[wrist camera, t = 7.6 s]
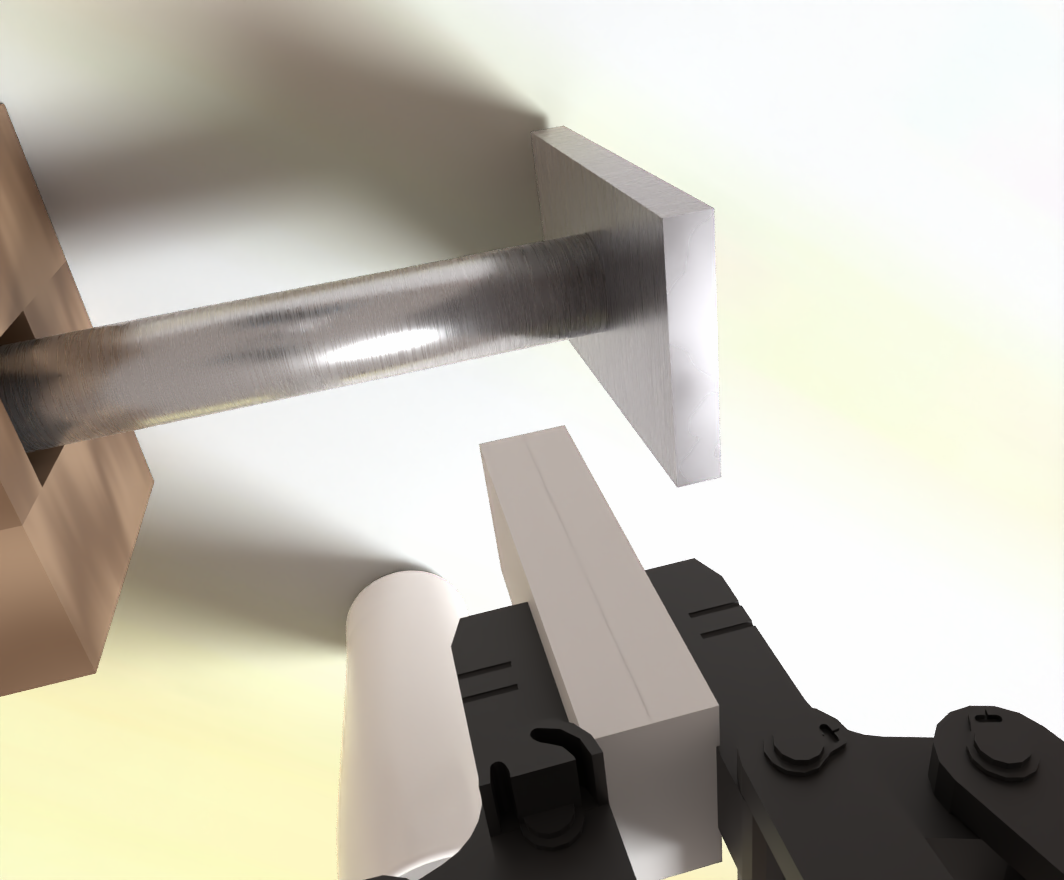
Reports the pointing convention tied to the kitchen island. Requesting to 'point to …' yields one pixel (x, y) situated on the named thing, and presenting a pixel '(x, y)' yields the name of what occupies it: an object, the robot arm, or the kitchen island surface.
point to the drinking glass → (404, 733)
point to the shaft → (430, 324)
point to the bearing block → (55, 471)
